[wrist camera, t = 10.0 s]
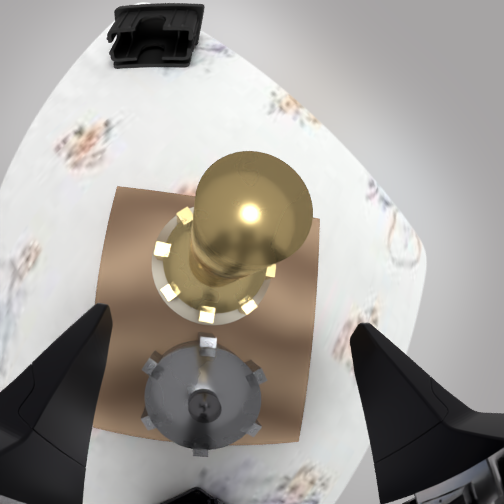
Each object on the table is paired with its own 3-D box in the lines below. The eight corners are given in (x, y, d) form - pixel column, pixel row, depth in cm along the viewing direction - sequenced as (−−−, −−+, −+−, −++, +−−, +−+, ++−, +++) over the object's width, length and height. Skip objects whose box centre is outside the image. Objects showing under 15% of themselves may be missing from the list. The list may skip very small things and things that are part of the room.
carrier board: (292, 435, 20) (299, 442, 19) (98, 420, 17) (92, 428, 15) (312, 223, 25) (321, 217, 23) (120, 193, 21) (116, 184, 19)
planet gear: (200, 343, 19) (226, 404, 7) (136, 248, 19) (74, 170, 7) (287, 277, 21) (404, 243, 9) (226, 191, 21) (276, 76, 9)
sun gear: (248, 439, 18) (262, 464, 14) (146, 432, 16) (139, 458, 12) (259, 337, 20) (277, 344, 16) (149, 325, 18) (140, 331, 14)
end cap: (199, 37, 26) (206, -4, 20) (193, 68, 25) (199, 22, 19) (125, 37, 24) (122, -2, 18) (109, 70, 23) (101, 26, 16)
